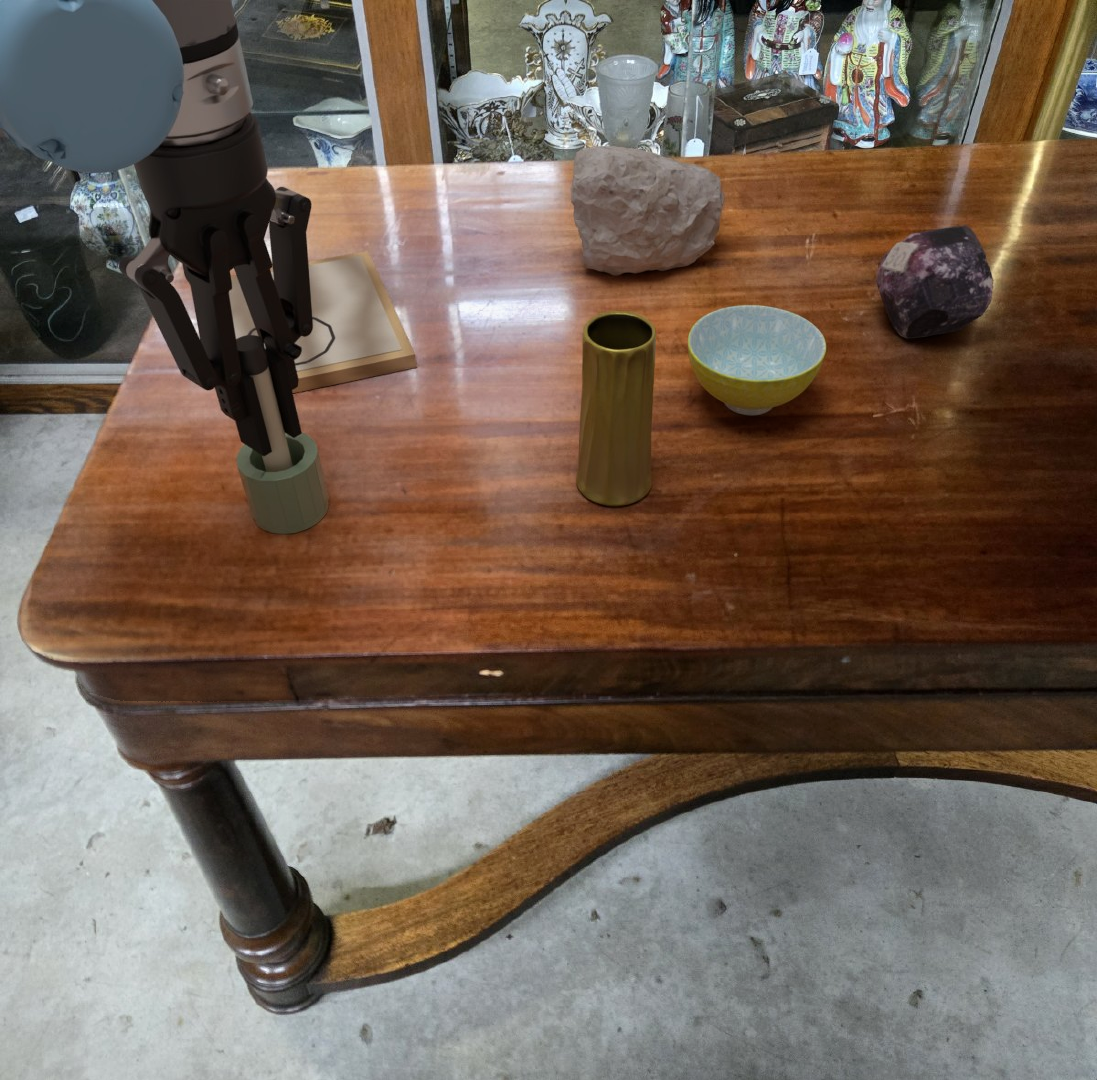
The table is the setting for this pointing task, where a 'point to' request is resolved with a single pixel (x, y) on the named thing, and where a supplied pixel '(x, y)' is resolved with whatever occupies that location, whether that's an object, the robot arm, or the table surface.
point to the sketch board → (342, 324)
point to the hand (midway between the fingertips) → (271, 437)
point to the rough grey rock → (642, 209)
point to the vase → (616, 408)
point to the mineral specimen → (935, 282)
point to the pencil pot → (285, 488)
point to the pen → (265, 400)
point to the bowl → (755, 356)
